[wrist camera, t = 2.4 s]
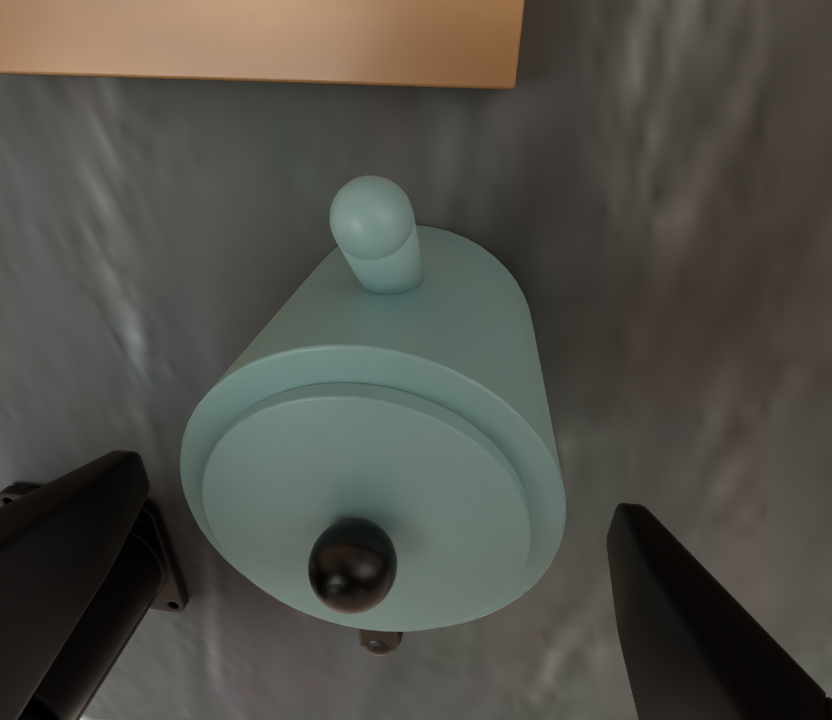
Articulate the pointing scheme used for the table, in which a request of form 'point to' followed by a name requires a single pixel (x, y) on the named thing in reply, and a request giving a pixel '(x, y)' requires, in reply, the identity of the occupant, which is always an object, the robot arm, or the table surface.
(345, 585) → the kettle
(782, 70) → the table surface
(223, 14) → the stand
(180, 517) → the table surface
